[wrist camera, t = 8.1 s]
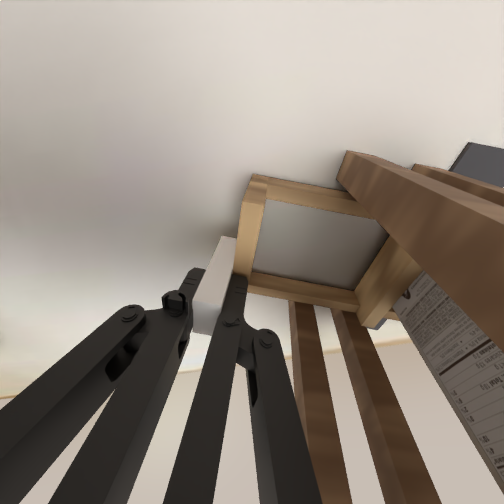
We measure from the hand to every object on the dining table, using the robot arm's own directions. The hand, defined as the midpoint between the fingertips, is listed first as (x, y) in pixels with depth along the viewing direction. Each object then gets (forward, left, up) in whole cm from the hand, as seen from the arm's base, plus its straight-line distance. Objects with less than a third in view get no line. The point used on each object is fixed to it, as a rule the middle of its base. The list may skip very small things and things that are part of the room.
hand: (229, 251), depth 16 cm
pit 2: (-8, +17, -4) cm, 19 cm away
